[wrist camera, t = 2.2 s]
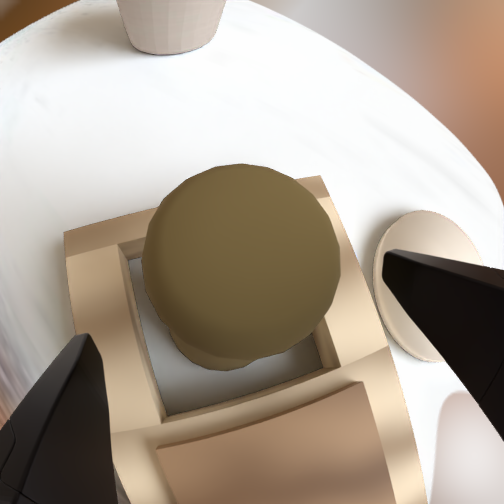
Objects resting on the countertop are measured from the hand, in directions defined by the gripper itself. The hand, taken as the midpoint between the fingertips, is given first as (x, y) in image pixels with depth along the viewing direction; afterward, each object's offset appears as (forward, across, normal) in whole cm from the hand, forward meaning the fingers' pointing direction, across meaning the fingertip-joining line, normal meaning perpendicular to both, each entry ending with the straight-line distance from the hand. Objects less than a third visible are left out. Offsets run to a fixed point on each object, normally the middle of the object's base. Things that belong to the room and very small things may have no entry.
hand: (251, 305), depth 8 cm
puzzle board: (+3, 0, +9) cm, 10 cm away
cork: (+7, 0, +6) cm, 9 cm away
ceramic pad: (+5, -15, +7) cm, 17 cm away
